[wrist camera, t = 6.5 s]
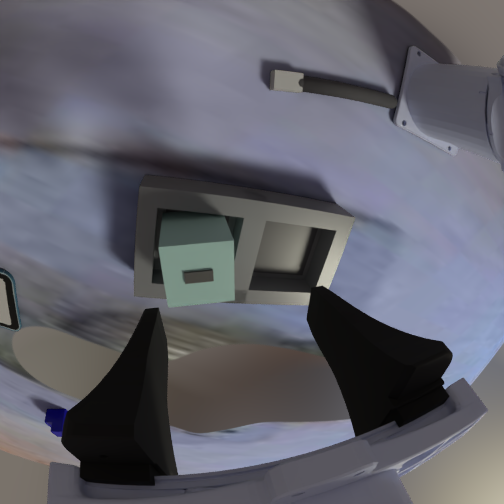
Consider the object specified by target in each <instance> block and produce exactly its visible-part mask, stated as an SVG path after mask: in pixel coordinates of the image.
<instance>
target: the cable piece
mask: <svg viewBox="0 0 504 504" xmlns="http://www.w3.org/2000/svg"><path fill="white" fill-rule="evenodd" d="M303 74H304V73H297V72H289V71H281V70H273V71H271V75H270V90H276V91H286V92H295V93H302V92H309V93H316V94H322V95H328V96H334V97H340V98H345V99H350V100H355V101H360V102H364V103H369V104H373V105H378V106H382V107H386V108H390V109H393V108H395V107H396V106H397V99H396V98H395V97H394V96H393V95H390V94H386V93H383V92H379V91H375V90H372V89H368V88H364V87H360V86H355V85H351V84H346V83H342V82H337V81H332V80H326V79H321V78H315V77H309V76H303Z"/></svg>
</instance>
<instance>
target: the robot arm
mask: <svg viewBox="0 0 504 504" xmlns="http://www.w3.org/2000/svg"><path fill="white" fill-rule="evenodd" d="M417 52H418V54H417ZM497 68H498V69H497ZM497 68H489V67H481V66H469V65H457V64H439V63H438V62H437V61H435V60H434V59H433V58H431V57H430V56H428V55H427V54H426V53H424V52H423V51H421V50H420V49H419V48H417V47H416V46H410V47H409V50H408V55H407V61H406V66H405V71H404V76H403V81H402V85H401V90H400V94H399V99H398V103H397V107H396V111H395V115H394V120H393V121H394V124H395V125H396V126H398V127H400V128H402V129H404V130H406V131H408V132H410V133H412V134H414V135H416V136H418V137H420V138H422V139H423V140H425V141H427V142H429V143H431V144H433V145H434V146H436V147H438V148H440V149H441V150H443V151H445V152H447V153H448V154H450V155H452V156H456V154H457V152H458V148H460V149H463V150H465V151H468V152H471V153H474V154H476V155H479V156H482V157H484V158H487V159H489V160H492V161H494V162H497V163H500V164H501V168H502V171H503V172H504V55H503V56H502V58H501V59H500V61H498V63H497ZM402 121H403V122H404V124H403V125H402ZM307 322H308V324H309V327H310V330H311V332H312V335H313V337H314V339H315V341H316V342H317V344H318V346H319V348H320V350H321V351H322V353H323V355H324V357H325V359H326V360H327V362H328V364H329V366H330V367H331V369H332V371H333V373H334V375H335V378H336V380H337V382H338V385H339V387H340V390H341V392H342V395H343V398H344V401H345V403H346V406H347V409H348V412H349V416H350V419H351V422H352V426H353V429H354V433H355V437H354V438H352V439H349V440H346V441H343V442H340V443H338V444H335V445H332V446H329V447H326V448H322V449H319V450H316V451H313V452H309V453H306V454H302V455H298V456H295V457H291V458H287V459H283V460H278V461H274V462H270V463H265V464H260V465H255V466H250V467H244V468H238V469H232V470H225V471H217V472H209V473H200V474H188V475H178V472H177V467H176V462H175V457H174V452H173V446H172V440H171V433H170V425H169V417H168V408H167V380H168V378H167V377H168V349H167V338H166V335H165V331H164V327H163V323H162V319H161V315H160V311H159V308H150V309H145V310H144V312H143V314H142V316H141V319H140V321H139V323H138V325H137V327H136V329H135V331H134V333H133V335H132V337H131V338H130V340H129V342H128V344H127V346H126V347H125V349H124V350H123V352H122V354H121V355H120V357H119V358H118V360H117V361H116V363H115V364H114V366H113V367H112V368H111V370H110V371H109V372H108V373H107V375H106V376H105V377H104V378H103V380H102V381H101V382H100V383H99V384H98V385H97V386H96V387H95V388H94V389H93V390H92V391H91V392H90V393H89V394H88V395H87V396H86V397H85V398H84V399H83V400H82V401H80V402H79V403H78V404H77V405H75V406H74V407H73V408H72V409H70V410H69V411H68V412H67V413H66V416H65V420H64V424H63V431H62V439H61V442H62V444H63V446H64V447H65V448H66V449H67V450H68V451H69V452H70V453H71V454H73V455H74V456H75V457H76V458H77V459H79V460H80V468H79V467H77V466H74V465H69V464H62V463H56V462H50V468H49V480H48V499H47V500H48V501H47V504H413V503H412V501H411V499H410V497H409V495H408V493H407V491H406V489H405V487H404V485H403V483H402V481H401V480H400V478H399V477H401V476H403V475H405V474H406V473H408V472H410V471H411V470H413V469H415V468H416V467H418V466H420V465H421V464H423V463H424V462H426V461H428V460H429V459H431V458H432V457H434V456H435V455H437V454H438V453H440V452H441V451H443V450H444V449H445V448H447V447H448V446H449V445H451V444H453V443H454V442H455V441H457V440H458V439H459V438H461V437H462V436H463V435H464V434H466V433H467V432H468V431H469V430H470V429H471V428H472V427H473V426H474V425H475V424H476V423H477V422H478V421H479V420H480V419H481V418H482V417H483V416H484V415H485V414H486V412H487V411H488V409H487V408H486V406H485V405H484V404H483V402H482V401H481V400H480V398H479V397H478V396H477V394H476V393H475V392H474V390H473V389H472V388H471V386H470V385H469V384H468V383H467V381H466V380H465V379H464V378H461V379H460V380H458V381H457V382H455V383H453V384H452V385H450V386H449V387H448V388H446V389H444V388H443V386H442V385H443V384H444V381H443V380H442V378H441V377H442V375H443V374H444V372H445V371H446V369H447V368H448V366H449V365H450V363H451V360H452V357H453V355H452V352H451V351H450V350H449V349H448V348H447V346H446V345H445V344H444V343H443V342H442V341H436V340H431V339H426V338H422V337H418V336H415V335H412V334H408V333H405V332H403V331H400V330H397V329H395V328H392V327H390V326H388V325H386V324H384V323H382V322H380V321H377V320H376V319H374V318H372V317H370V316H368V315H367V314H365V313H363V312H362V311H360V310H358V309H357V308H355V307H354V306H352V305H351V304H349V303H348V302H346V301H345V300H343V299H342V298H340V297H339V296H337V295H336V294H335V293H333V292H332V291H330V290H329V289H327V288H326V287H324V286H317V287H311V293H310V300H309V307H308V313H307Z"/></svg>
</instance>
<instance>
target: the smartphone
mask: <svg viewBox="0 0 504 504" xmlns="http://www.w3.org/2000/svg"><path fill="white" fill-rule="evenodd" d="M15 287H16V286H15V280H14V278H13V276H12V275H11V274H10V273H9V272H8V271H5V270H2V269H0V327H3V328H6V329H9V330H13V331H19V330H20V328H21V320H20V316H19V315H20V314H19V308H18V303H17V302H18V301H17V296H16V295H17V294H16V288H15Z"/></svg>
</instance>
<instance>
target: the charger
mask: <svg viewBox="0 0 504 504" xmlns="http://www.w3.org/2000/svg"><path fill="white" fill-rule="evenodd" d="M158 248H159V255H160V261H161V268H162V274H163V280H164V286H165V292H166V297H167V303H168V307H178V306H188V305H198V304H208V303H217V302H226V301H234V300H235V283H234V239H233V237H232V234H231V232H230V229H229V226H228V224H227V221H226V219H225V216H224V215H217V214H208V213H199V212H191V211H180V212H169V213H163V215H162V222H161V230H160V238H159V247H158Z"/></svg>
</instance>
